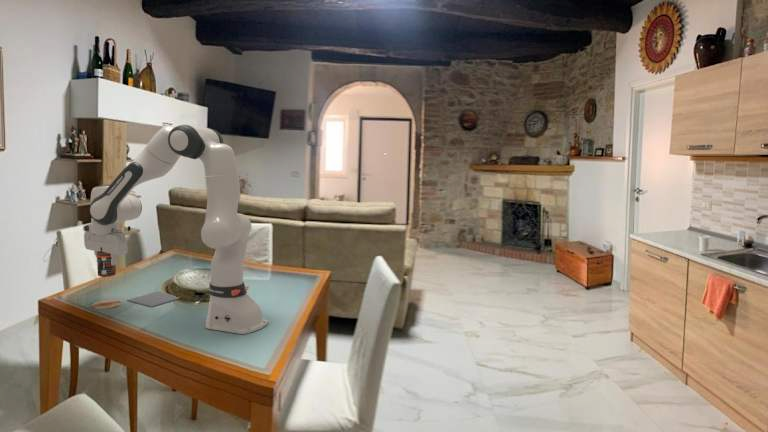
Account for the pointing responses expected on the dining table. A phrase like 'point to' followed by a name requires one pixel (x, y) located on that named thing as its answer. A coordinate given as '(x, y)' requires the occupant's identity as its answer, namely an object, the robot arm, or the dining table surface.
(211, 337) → the dining table surface
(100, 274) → the supplement bottle
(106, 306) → the cork coaster
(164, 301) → the slate mat
